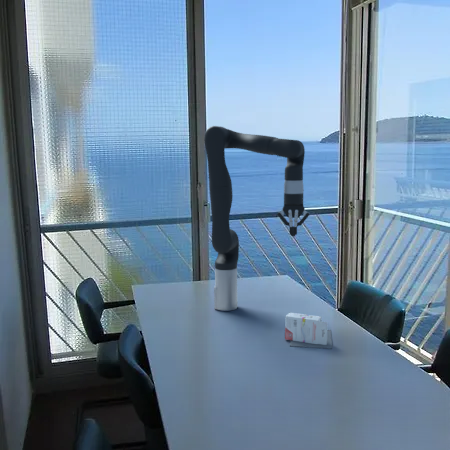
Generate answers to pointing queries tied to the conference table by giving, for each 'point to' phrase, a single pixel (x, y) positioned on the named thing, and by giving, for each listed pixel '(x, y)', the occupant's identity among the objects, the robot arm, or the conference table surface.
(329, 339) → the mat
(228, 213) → the robot arm
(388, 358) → the conference table surface
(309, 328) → the ink cartridge box
